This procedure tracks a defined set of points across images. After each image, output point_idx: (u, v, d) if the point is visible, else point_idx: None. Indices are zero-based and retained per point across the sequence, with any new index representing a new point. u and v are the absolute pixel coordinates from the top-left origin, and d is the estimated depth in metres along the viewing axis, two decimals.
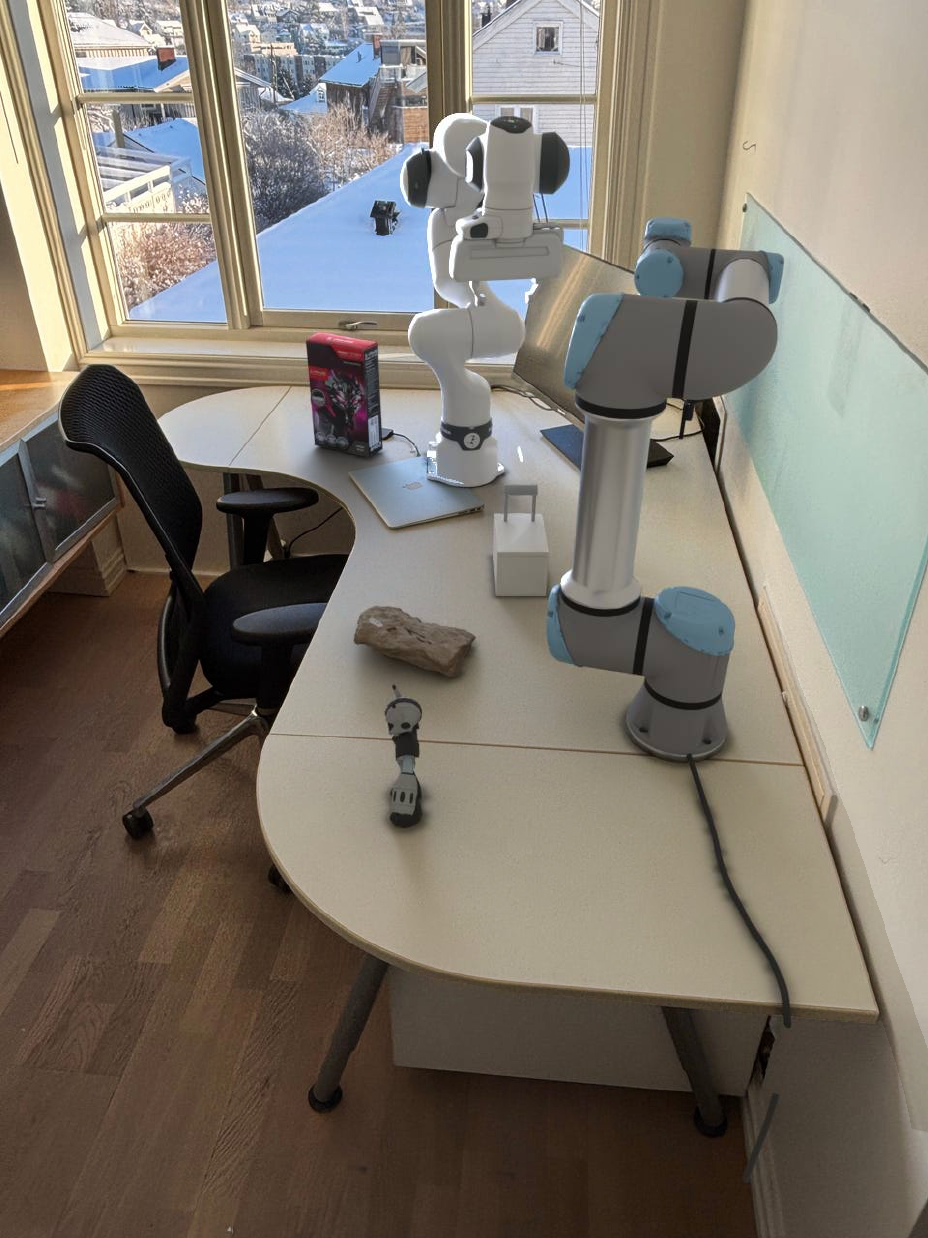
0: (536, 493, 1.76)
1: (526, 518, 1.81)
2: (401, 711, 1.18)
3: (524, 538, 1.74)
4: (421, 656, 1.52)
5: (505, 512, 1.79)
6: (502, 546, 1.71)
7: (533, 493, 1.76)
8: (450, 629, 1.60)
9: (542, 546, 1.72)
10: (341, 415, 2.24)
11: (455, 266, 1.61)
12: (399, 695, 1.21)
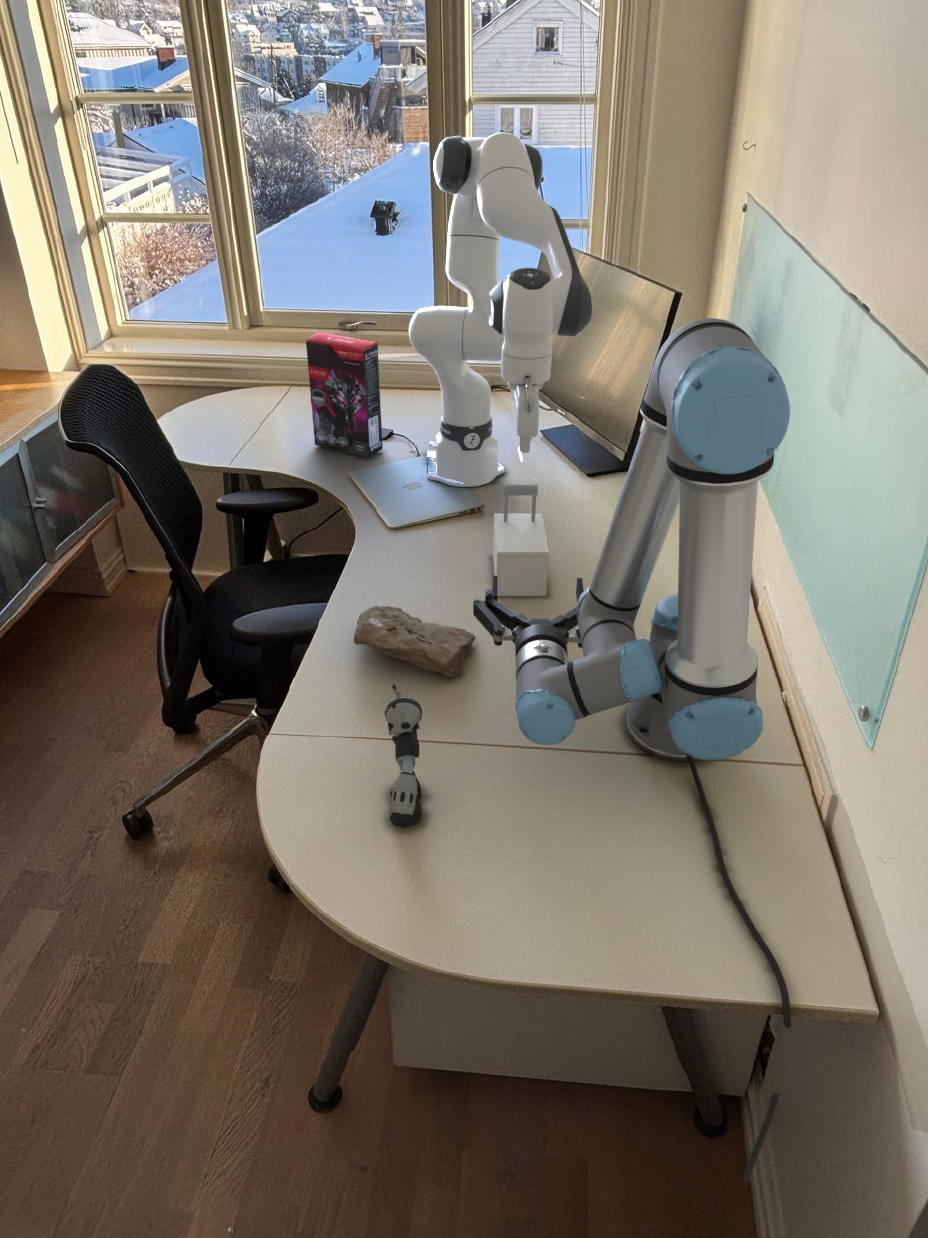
0: (536, 493, 1.76)
1: (526, 518, 1.81)
2: (401, 711, 1.18)
3: (524, 538, 1.74)
4: (421, 656, 1.52)
5: (505, 512, 1.79)
6: (502, 546, 1.71)
7: (533, 493, 1.76)
8: (450, 629, 1.60)
9: (542, 546, 1.72)
10: (341, 415, 2.24)
11: None
12: (399, 695, 1.21)
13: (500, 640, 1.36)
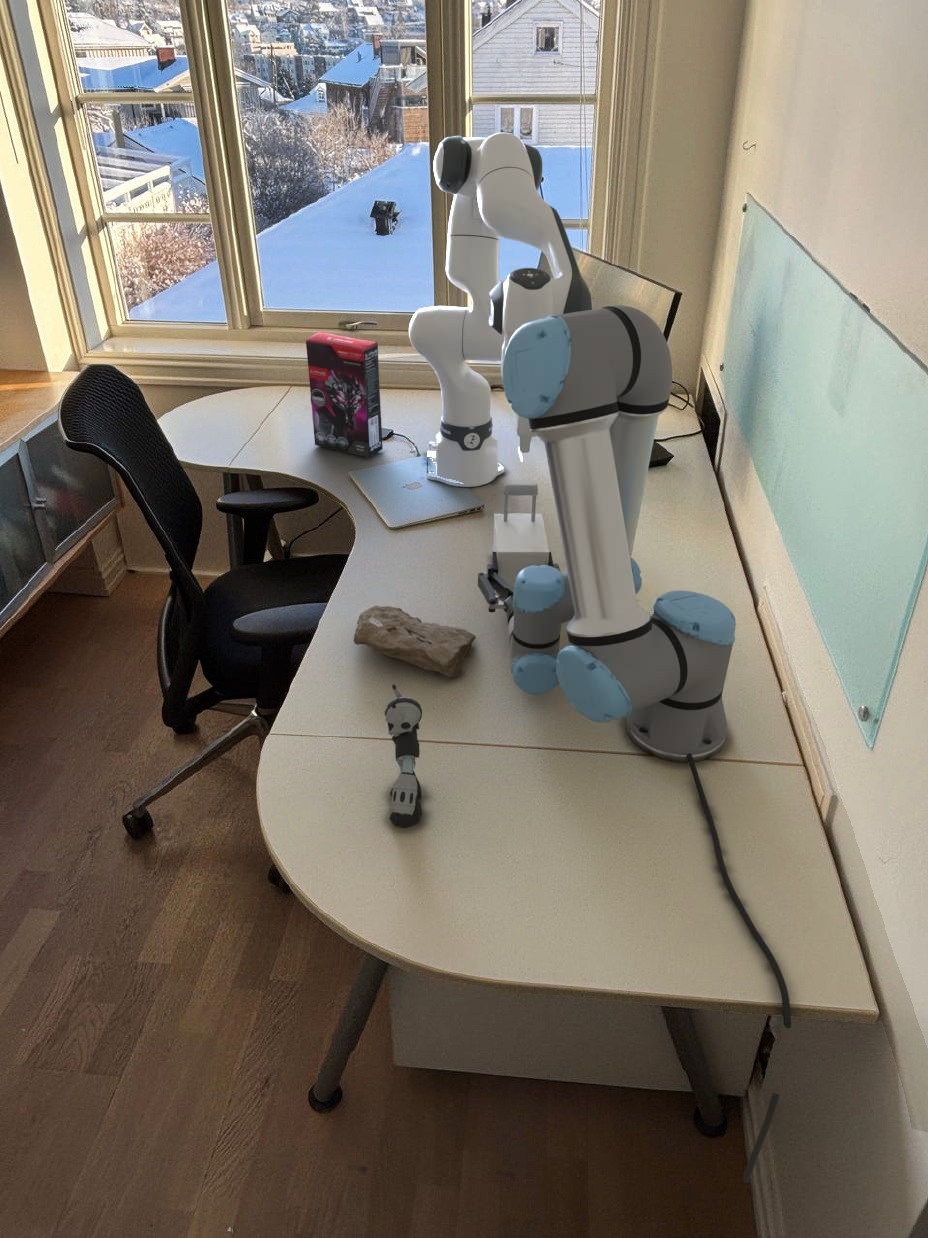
0: (536, 493, 1.76)
1: (526, 518, 1.81)
2: (401, 711, 1.18)
3: (524, 538, 1.74)
4: (421, 656, 1.52)
5: (505, 512, 1.79)
6: (502, 546, 1.71)
7: (533, 493, 1.76)
8: (450, 629, 1.60)
9: (542, 546, 1.72)
10: (341, 415, 2.24)
11: None
12: (399, 695, 1.21)
13: (493, 608, 1.60)
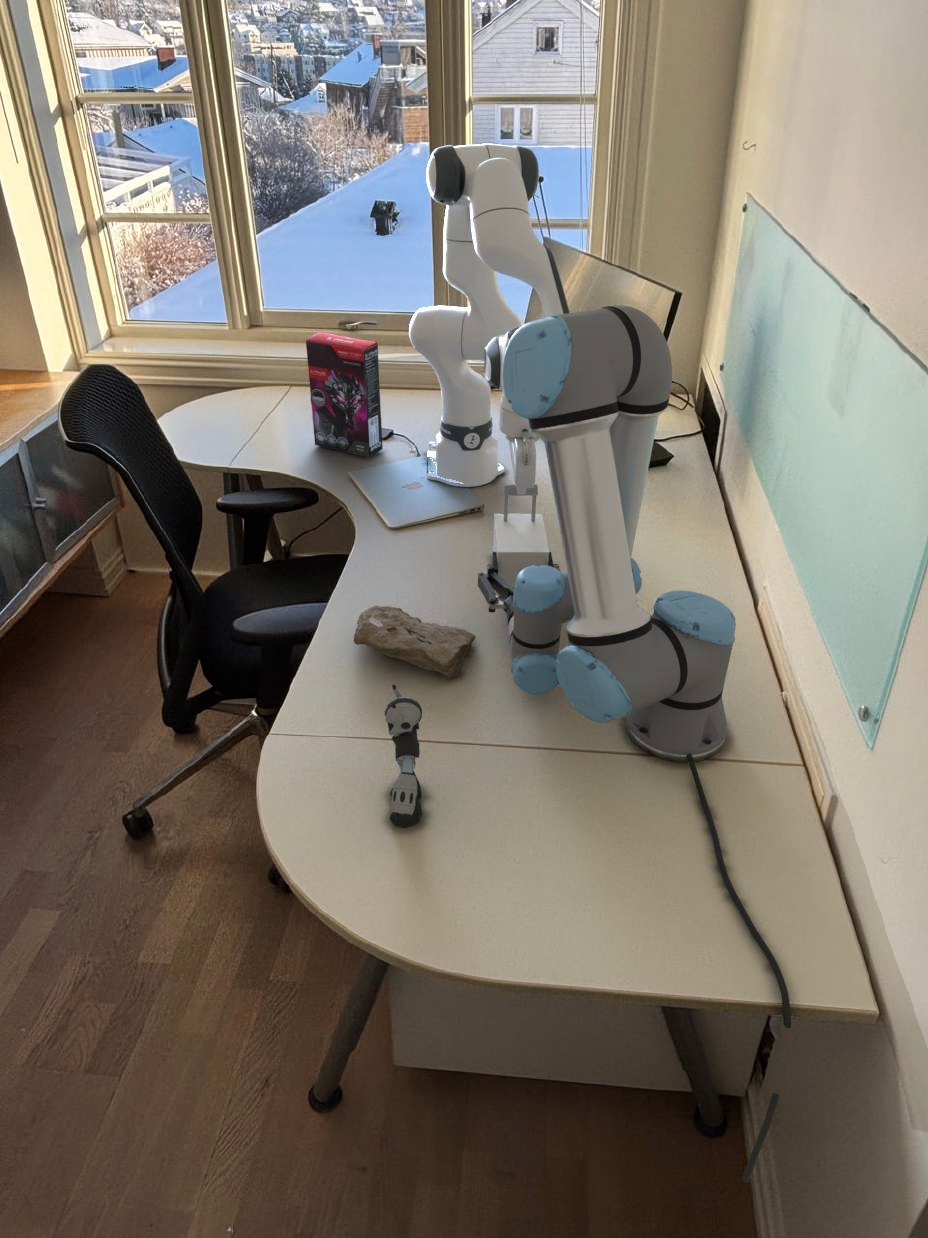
0: (536, 493, 1.76)
1: (526, 518, 1.81)
2: (401, 711, 1.18)
3: (524, 538, 1.74)
4: (421, 656, 1.52)
5: (505, 512, 1.79)
6: (502, 546, 1.71)
7: (533, 493, 1.76)
8: (450, 629, 1.60)
9: (542, 546, 1.72)
10: (341, 415, 2.24)
11: None
12: (399, 695, 1.21)
13: (493, 608, 1.60)
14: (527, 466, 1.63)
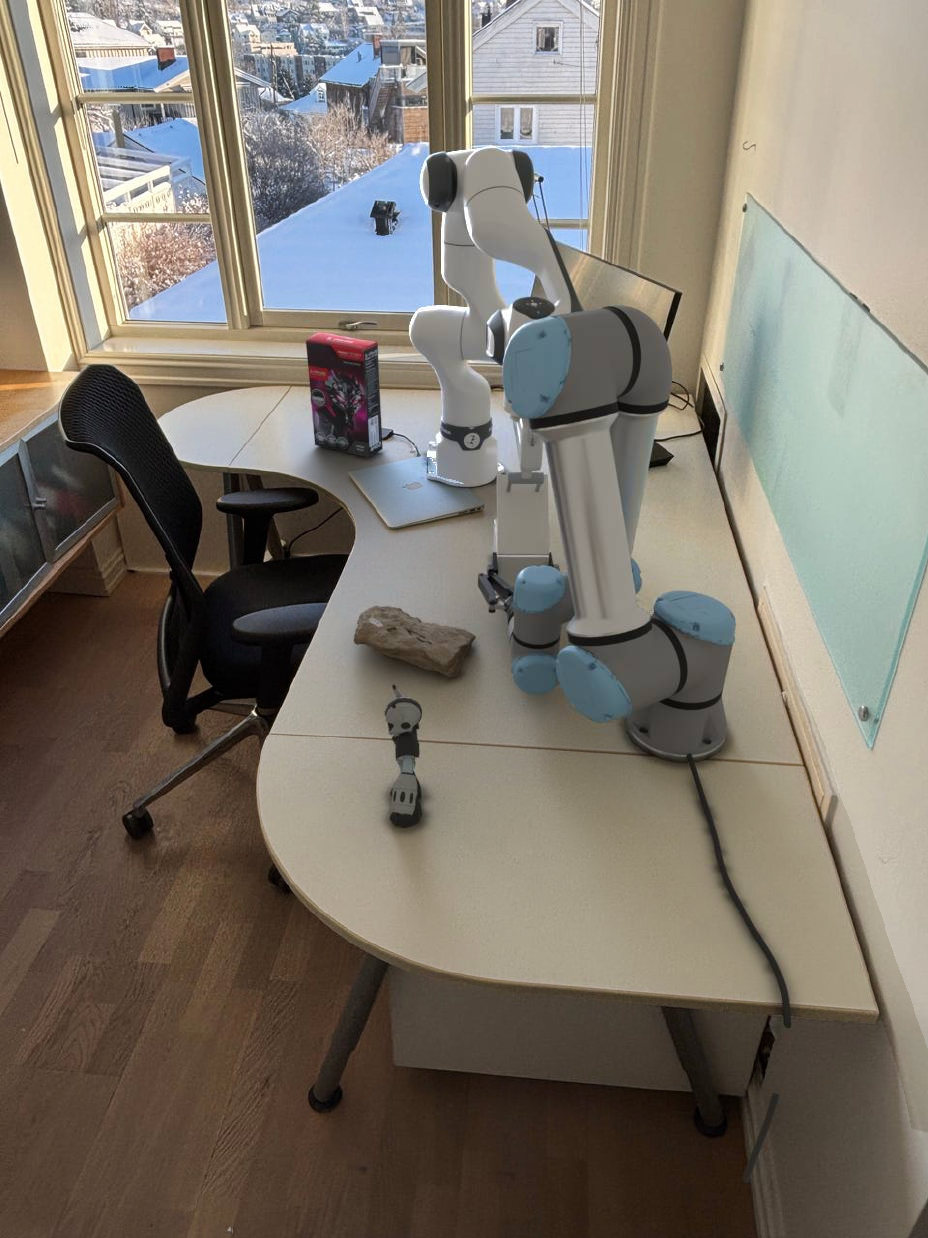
0: (542, 483, 1.66)
1: (530, 485, 1.72)
2: (401, 711, 1.18)
3: (525, 526, 1.71)
4: (421, 656, 1.52)
5: (508, 488, 1.70)
6: (503, 543, 1.70)
7: (538, 483, 1.65)
8: (450, 629, 1.60)
9: (543, 543, 1.70)
10: (341, 415, 2.24)
11: None
12: (399, 695, 1.21)
13: (493, 608, 1.60)
14: (533, 447, 1.52)
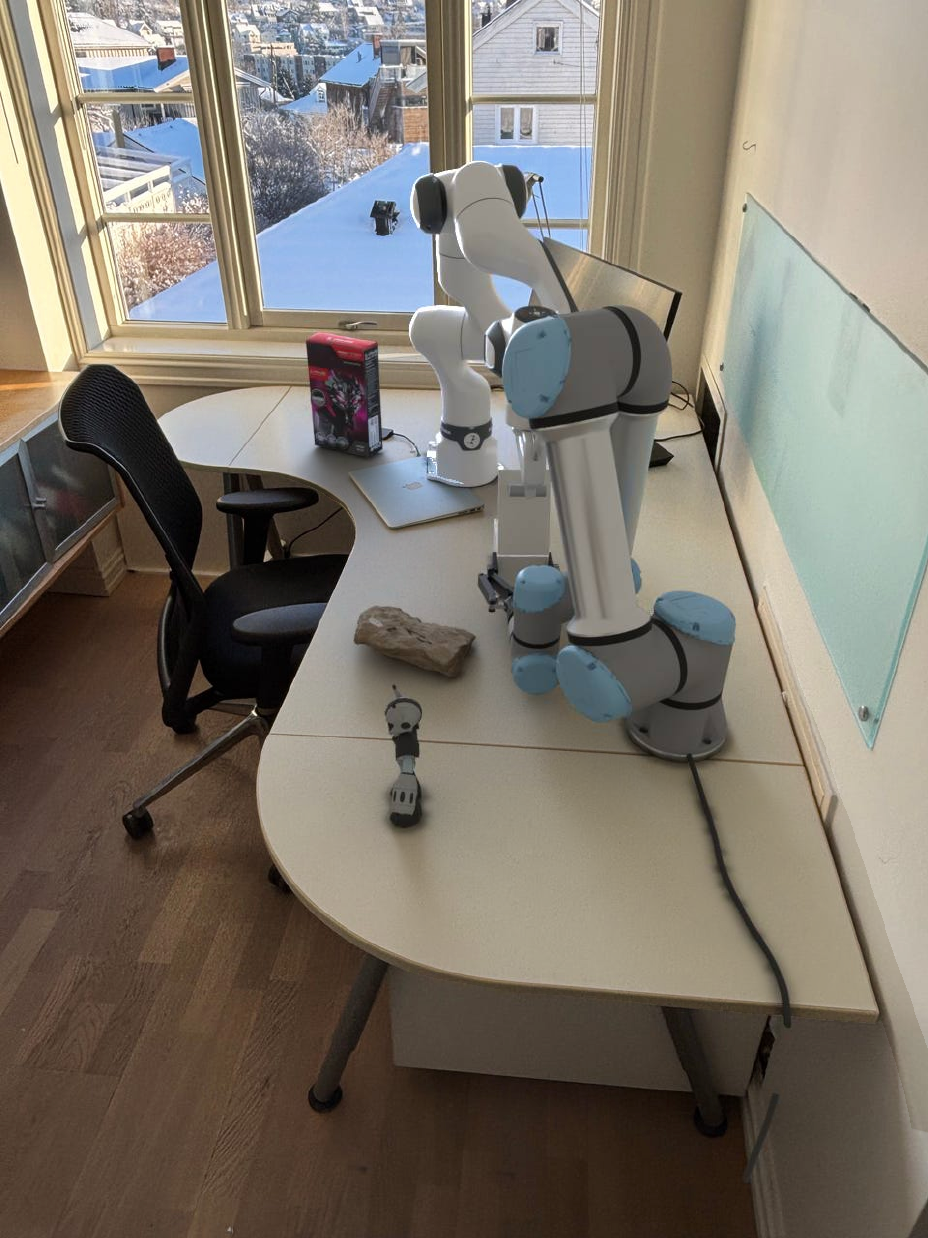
0: None
1: None
2: (401, 711, 1.18)
3: (526, 526, 1.68)
4: (421, 656, 1.52)
5: None
6: (503, 543, 1.69)
7: None
8: (450, 629, 1.60)
9: (543, 543, 1.69)
10: (341, 415, 2.24)
11: None
12: (399, 695, 1.21)
13: (493, 608, 1.60)
14: (537, 461, 1.45)
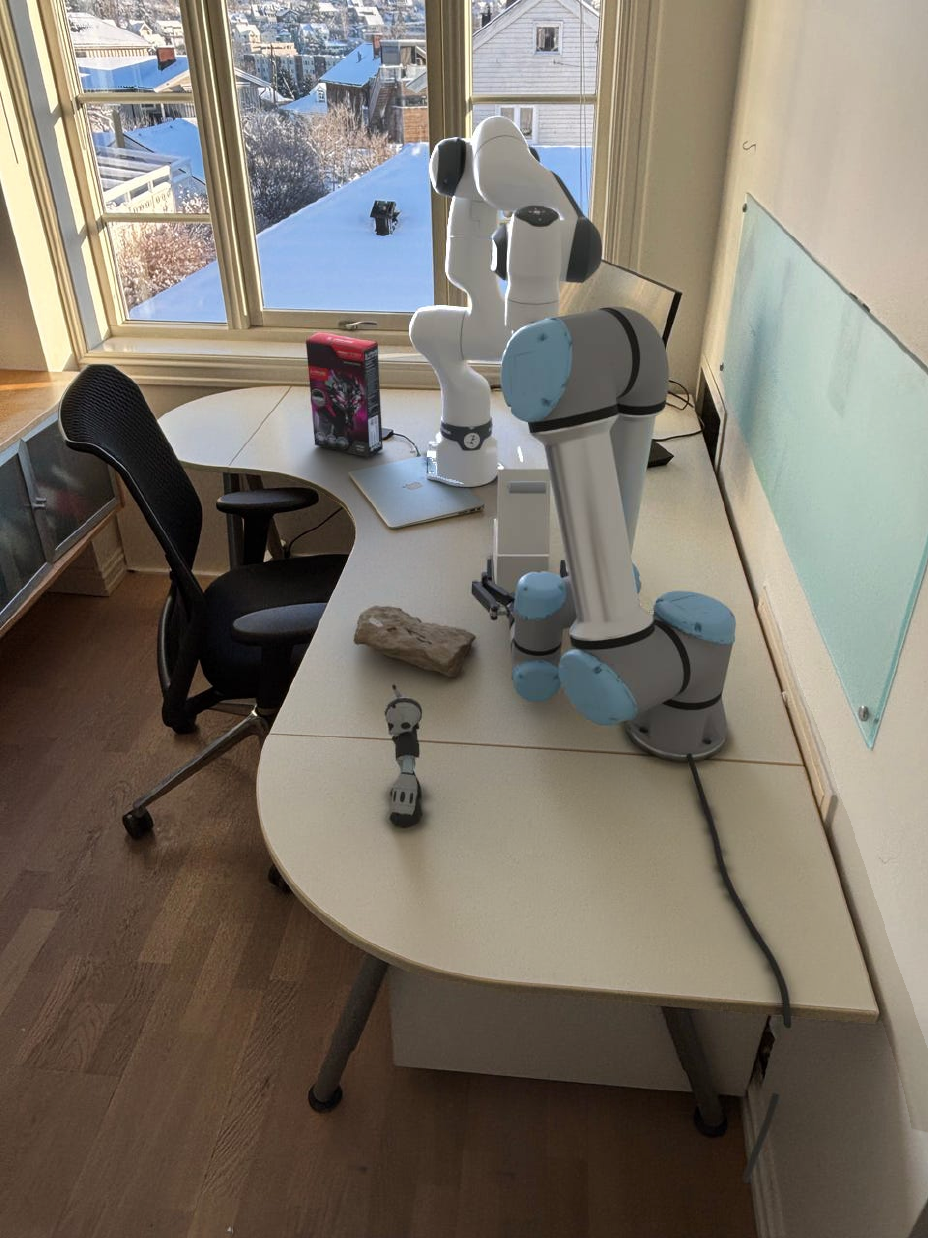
0: None
1: (532, 481, 1.67)
2: (401, 711, 1.18)
3: (526, 525, 1.69)
4: (421, 656, 1.52)
5: None
6: (503, 542, 1.69)
7: None
8: (450, 629, 1.60)
9: (543, 542, 1.69)
10: (341, 415, 2.24)
11: None
12: (399, 695, 1.21)
13: (496, 615, 1.58)
14: None
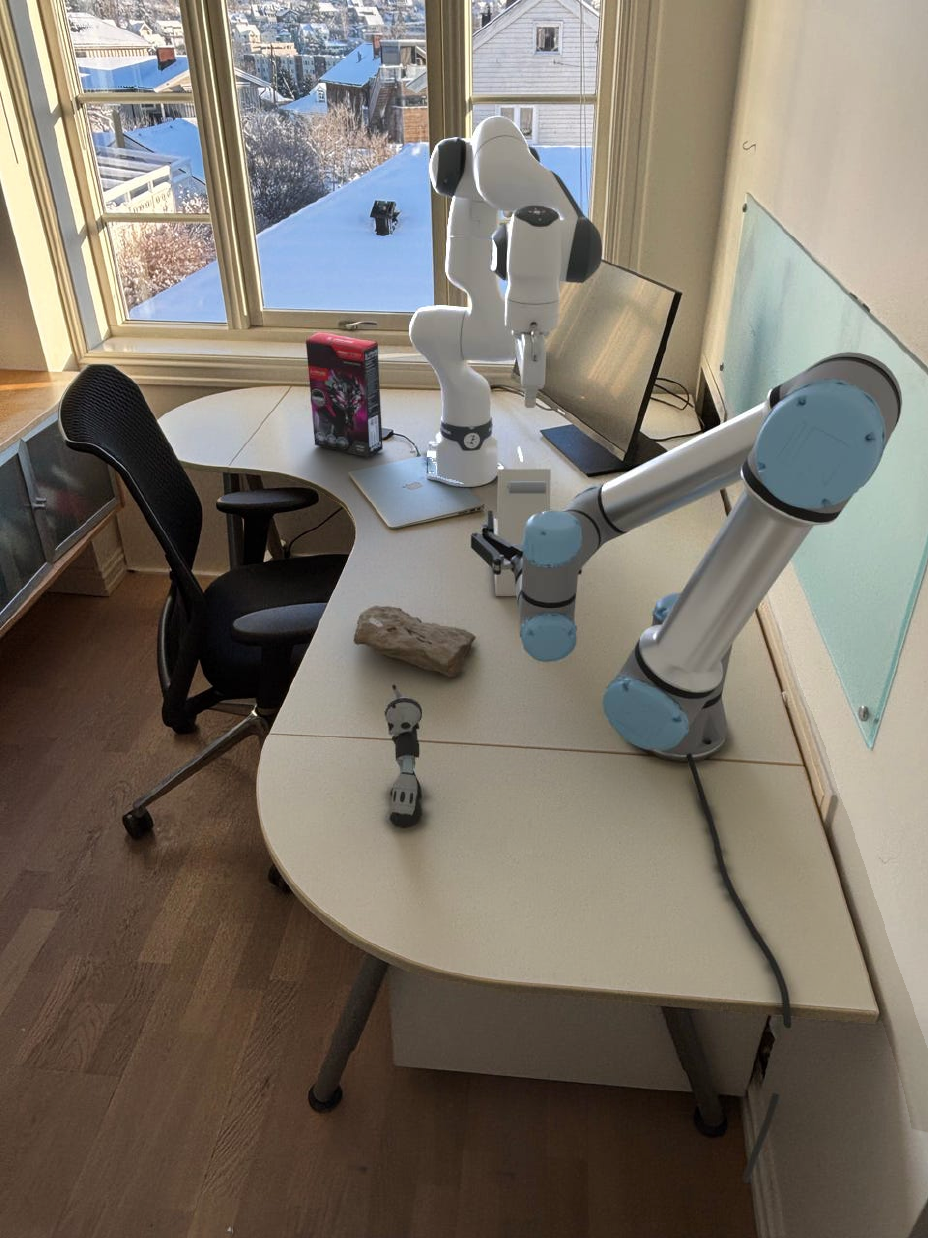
0: None
1: (531, 481, 1.67)
2: (401, 711, 1.18)
3: None
4: (421, 656, 1.52)
5: None
6: None
7: None
8: (450, 629, 1.60)
9: None
10: (341, 415, 2.24)
11: None
12: (399, 695, 1.21)
13: (499, 569, 1.41)
14: (536, 362, 1.46)
